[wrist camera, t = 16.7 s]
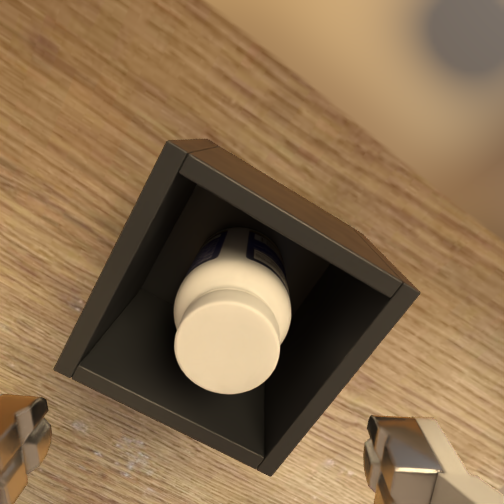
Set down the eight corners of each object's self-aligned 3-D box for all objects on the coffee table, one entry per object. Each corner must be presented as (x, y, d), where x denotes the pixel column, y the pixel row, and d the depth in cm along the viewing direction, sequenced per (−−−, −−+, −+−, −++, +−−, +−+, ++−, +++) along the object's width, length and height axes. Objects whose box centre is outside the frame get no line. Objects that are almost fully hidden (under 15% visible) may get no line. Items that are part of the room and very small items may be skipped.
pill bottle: (201, 309, 23) (163, 411, 14) (192, 228, 21) (143, 288, 13) (286, 306, 23) (299, 407, 14) (283, 223, 21) (294, 281, 13)
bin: (127, 287, 23) (52, 370, 15) (206, 138, 20) (167, 139, 12) (269, 364, 25) (271, 477, 16) (362, 233, 22) (421, 293, 14)
